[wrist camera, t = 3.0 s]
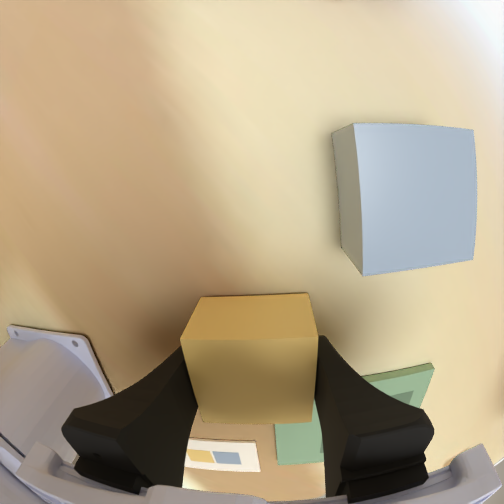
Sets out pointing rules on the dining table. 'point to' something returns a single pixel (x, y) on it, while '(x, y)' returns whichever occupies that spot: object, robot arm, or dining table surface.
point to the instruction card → (222, 455)
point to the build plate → (309, 434)
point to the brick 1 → (253, 358)
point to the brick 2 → (405, 195)
